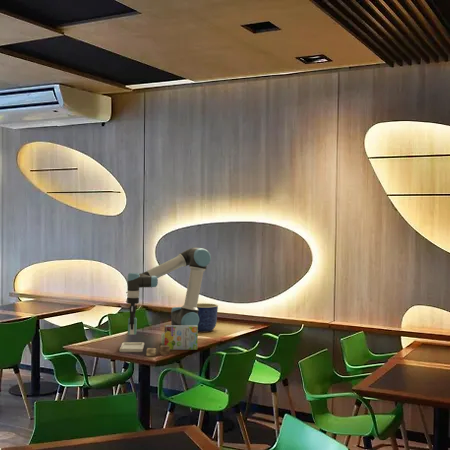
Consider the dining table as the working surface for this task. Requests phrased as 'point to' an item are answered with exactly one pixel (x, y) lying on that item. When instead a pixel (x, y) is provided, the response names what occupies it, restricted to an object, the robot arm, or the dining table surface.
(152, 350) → the beech block
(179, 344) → the snack box
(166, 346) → the walnut cube
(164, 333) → the grey-brown upright piece
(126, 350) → the tray
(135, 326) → the teal block
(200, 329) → the planter
